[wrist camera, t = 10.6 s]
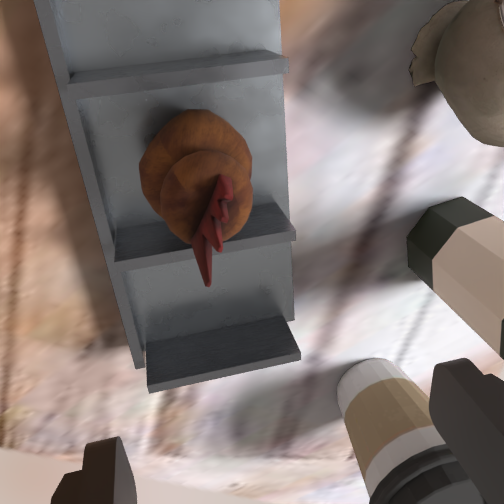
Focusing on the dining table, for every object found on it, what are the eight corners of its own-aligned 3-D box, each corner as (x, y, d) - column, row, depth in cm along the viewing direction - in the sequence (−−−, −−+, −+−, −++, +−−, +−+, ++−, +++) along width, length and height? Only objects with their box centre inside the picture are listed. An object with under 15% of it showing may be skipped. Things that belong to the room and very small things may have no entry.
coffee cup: (307, 426, 50) (367, 573, 38) (328, 343, 45) (406, 479, 32) (400, 418, 53) (485, 552, 40) (430, 339, 48) (538, 463, 35)
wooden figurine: (186, 208, 34) (218, 334, 21) (123, 157, 32) (116, 266, 19) (251, 141, 33) (326, 232, 20) (191, 81, 30) (234, 142, 17)
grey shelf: (265, -163, 26) (299, -204, 21) (290, 312, 43) (312, 357, 37) (3, -151, 24) (-34, -192, 19) (135, 344, 40) (135, 396, 35)
